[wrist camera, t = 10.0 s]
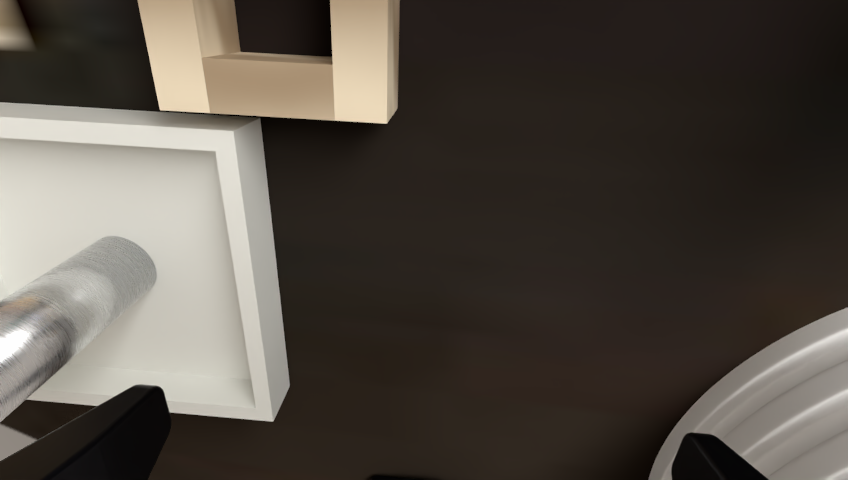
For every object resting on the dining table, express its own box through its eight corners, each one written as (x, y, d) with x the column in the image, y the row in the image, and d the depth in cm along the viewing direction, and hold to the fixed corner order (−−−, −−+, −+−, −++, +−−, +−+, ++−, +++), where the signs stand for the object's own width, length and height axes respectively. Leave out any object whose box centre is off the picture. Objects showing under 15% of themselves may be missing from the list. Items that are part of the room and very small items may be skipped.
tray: (289, 385, 25) (273, 421, 23) (36, 364, 26) (-4, 396, 24) (260, 117, 19) (233, 131, 17) (-75, 97, 20) (-145, 107, 17)
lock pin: (162, 297, 22) (-5, 455, 14) (99, 291, 23) (-100, 445, 15) (148, 239, 21) (-46, 378, 13) (81, 233, 21) (-151, 368, 13)
